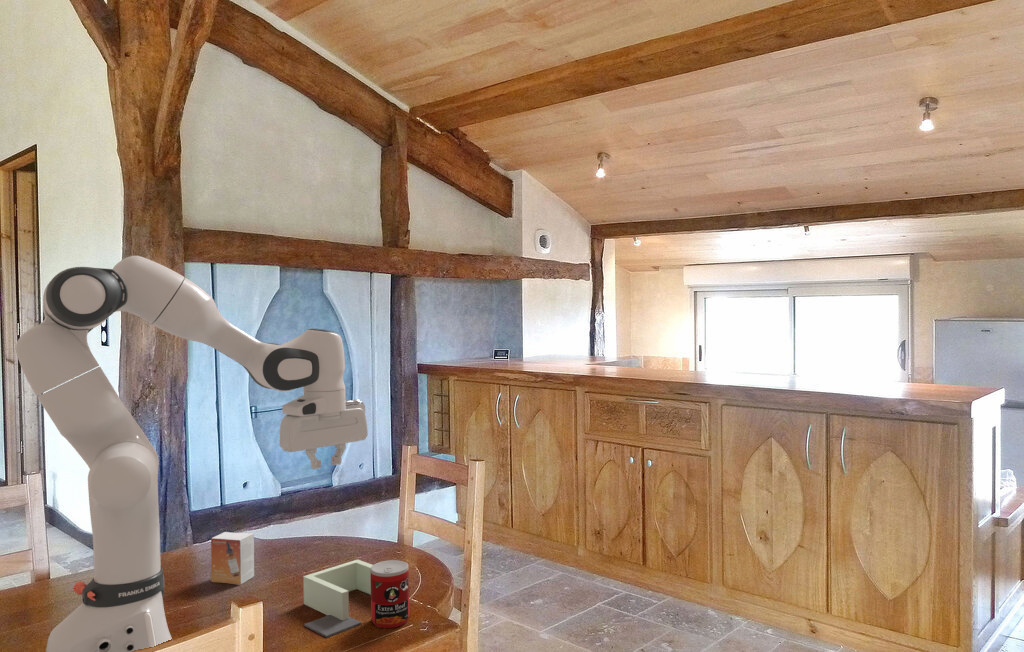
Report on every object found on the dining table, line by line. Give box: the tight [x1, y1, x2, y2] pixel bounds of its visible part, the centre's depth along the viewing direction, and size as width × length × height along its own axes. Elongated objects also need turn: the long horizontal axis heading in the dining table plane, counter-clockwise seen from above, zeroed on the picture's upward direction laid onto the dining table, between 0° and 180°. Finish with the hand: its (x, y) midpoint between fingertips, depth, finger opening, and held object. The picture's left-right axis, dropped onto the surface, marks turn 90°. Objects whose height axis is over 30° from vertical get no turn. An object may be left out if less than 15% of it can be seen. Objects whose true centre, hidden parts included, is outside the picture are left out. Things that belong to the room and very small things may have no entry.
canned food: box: [370, 559, 410, 629], centre depth 146 cm, size 8×8×11 cm
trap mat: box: [303, 615, 362, 639], centre depth 145 cm, size 8×8×1 cm
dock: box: [302, 558, 374, 620], centre depth 156 cm, size 14×14×6 cm
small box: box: [210, 531, 255, 586], centre depth 171 cm, size 8×6×10 cm
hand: (326, 466), depth 157 cm, fingers open, 4 cm apart
